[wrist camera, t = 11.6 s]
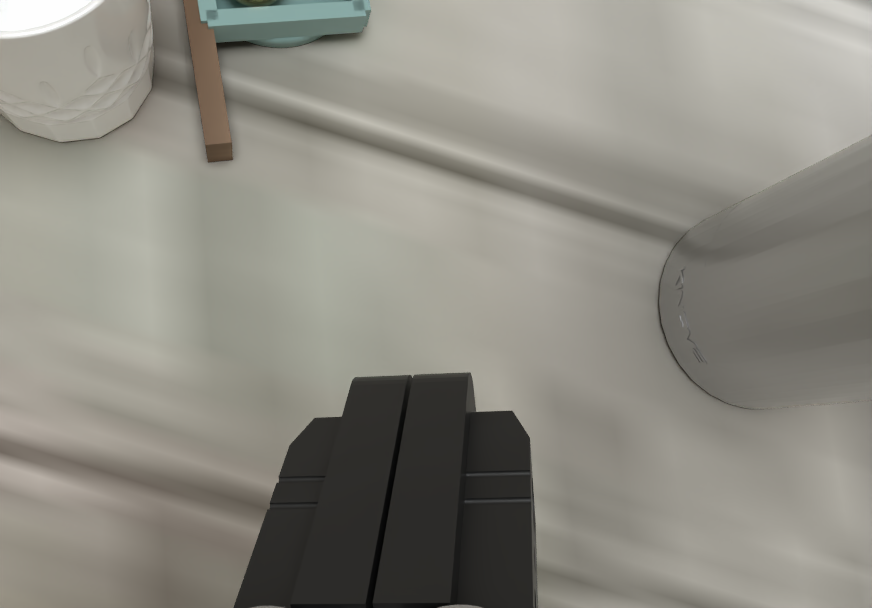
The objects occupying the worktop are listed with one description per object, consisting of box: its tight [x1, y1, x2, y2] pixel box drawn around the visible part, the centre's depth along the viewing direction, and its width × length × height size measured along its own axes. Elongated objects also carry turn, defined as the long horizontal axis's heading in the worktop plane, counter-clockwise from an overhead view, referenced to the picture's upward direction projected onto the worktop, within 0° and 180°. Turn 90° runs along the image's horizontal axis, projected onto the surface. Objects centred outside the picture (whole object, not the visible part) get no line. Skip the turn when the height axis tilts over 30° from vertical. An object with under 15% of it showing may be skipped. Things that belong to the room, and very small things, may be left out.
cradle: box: [183, 0, 233, 162], centre depth 33 cm, size 12×10×2 cm
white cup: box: [0, 0, 154, 142], centre depth 29 cm, size 8×8×10 cm
